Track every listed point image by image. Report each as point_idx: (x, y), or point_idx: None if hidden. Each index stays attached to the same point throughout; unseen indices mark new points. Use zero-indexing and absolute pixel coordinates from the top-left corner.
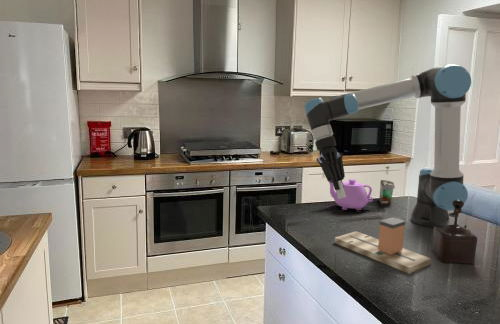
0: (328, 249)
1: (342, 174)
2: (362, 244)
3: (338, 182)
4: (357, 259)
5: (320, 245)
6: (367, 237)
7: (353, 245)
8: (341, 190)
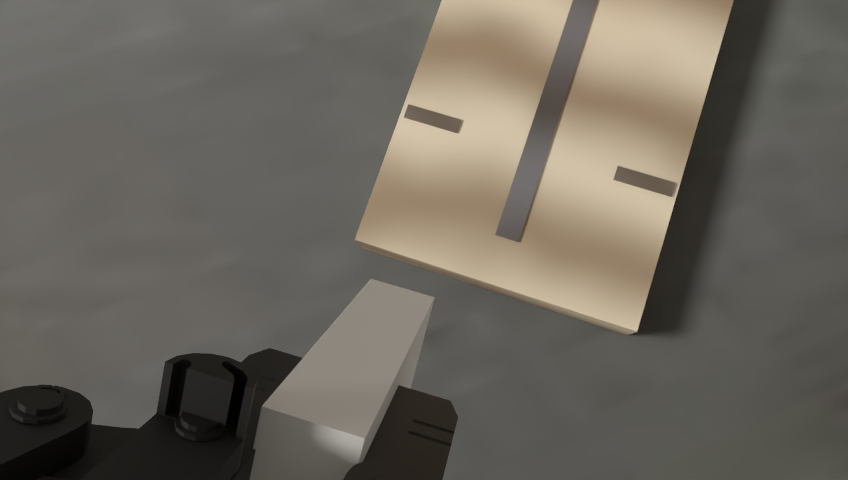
0: (797, 318)
1: (35, 446)
2: (631, 84)
3: (368, 438)
4: (819, 66)
5: (764, 412)
6: (449, 107)
7: (692, 137)
8: (413, 344)
